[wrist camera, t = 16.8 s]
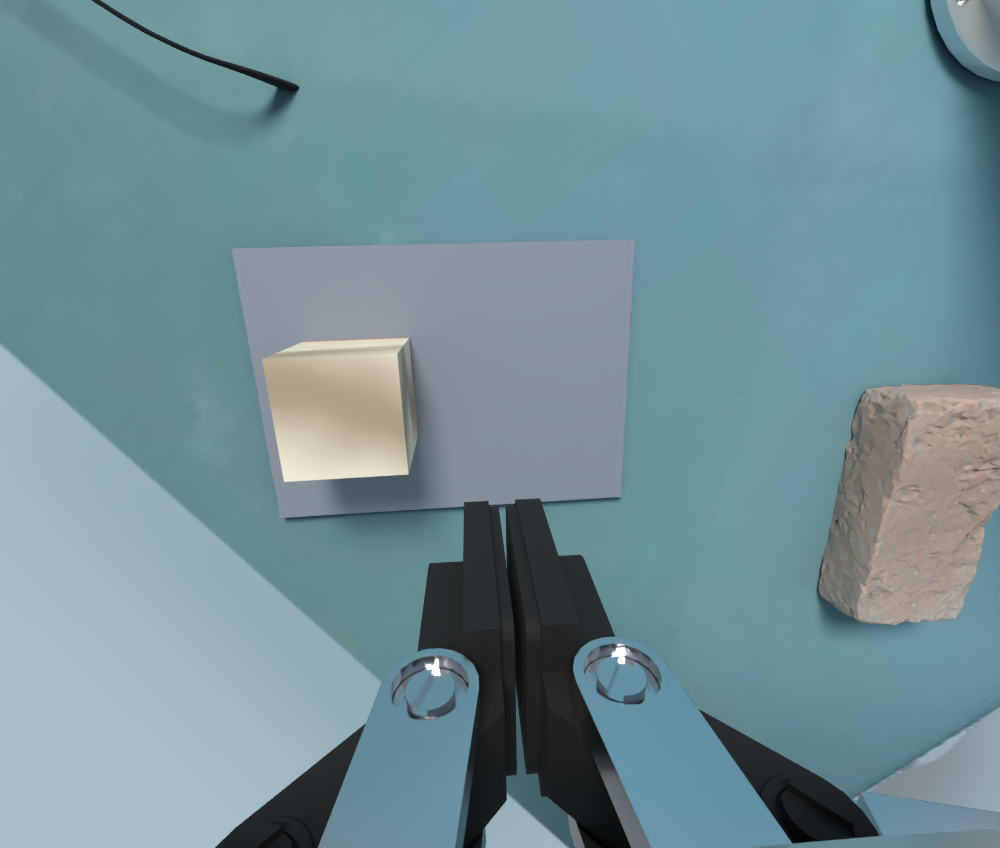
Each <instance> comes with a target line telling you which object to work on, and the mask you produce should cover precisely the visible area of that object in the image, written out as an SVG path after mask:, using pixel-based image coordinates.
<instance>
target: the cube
mask: <svg viewBox="0 0 1000 848" xmlns="http://www.w3.org/2000/svg"><path fill="white" fill-rule="evenodd" d="M262 362H263V367H264V373H265V379H266V384H267V390H268V395H269V401H270V407H271V412H272V418H273V423H274V429H275V435H276V440H277V446H278V451H279V457H280V462H281V468H282V474H283V479H284V482H292V481H309V480H325V479H342V478H358V477H374V476H391V475H407V474H409V471H410V467H411V463H412V459H413V455H414V451H415V446H416V442H417V438H418V429H417V417H416V405H415V394H414V382H413V371H412V359H411V347H410V337H407V338H382V339H358V340H333V341H309V342H301V343H299V344H297V345H294V346H292V347H290V348H287V349H285V350H283V351H280V352H278V353H276V354H273V355H271V356H269V357H266V358H264V359H262Z"/></svg>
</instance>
